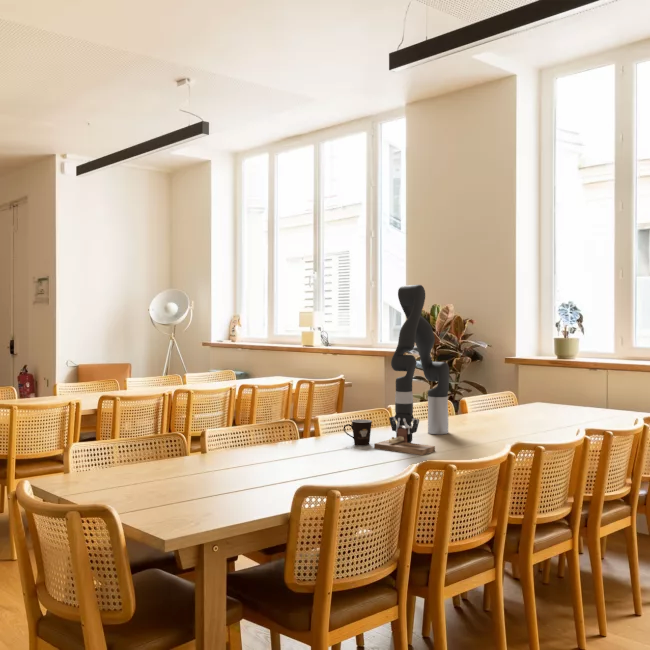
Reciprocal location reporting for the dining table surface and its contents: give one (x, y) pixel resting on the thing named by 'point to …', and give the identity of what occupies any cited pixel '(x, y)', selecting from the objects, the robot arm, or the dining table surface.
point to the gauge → (400, 436)
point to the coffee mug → (360, 431)
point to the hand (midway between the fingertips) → (404, 441)
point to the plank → (405, 447)
